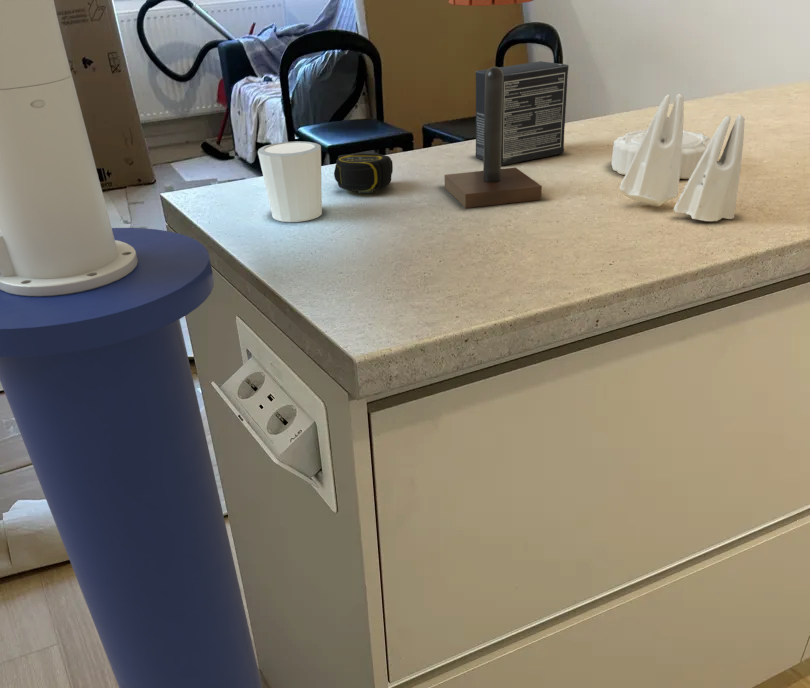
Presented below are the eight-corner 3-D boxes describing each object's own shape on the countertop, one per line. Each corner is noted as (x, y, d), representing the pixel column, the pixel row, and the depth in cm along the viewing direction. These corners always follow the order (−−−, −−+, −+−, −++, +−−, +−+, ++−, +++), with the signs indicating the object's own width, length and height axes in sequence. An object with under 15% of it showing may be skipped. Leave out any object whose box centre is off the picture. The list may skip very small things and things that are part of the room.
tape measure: (394, 181, 100) (392, 149, 98) (389, 197, 95) (387, 163, 92) (340, 183, 101) (337, 150, 98) (332, 198, 95) (329, 164, 93)
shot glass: (307, 202, 95) (300, 137, 90) (339, 214, 90) (333, 146, 86) (256, 214, 91) (246, 147, 87) (285, 227, 87) (277, 158, 83)
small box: (536, 145, 112) (541, 59, 106) (565, 154, 108) (572, 64, 101) (472, 157, 108) (473, 68, 102) (499, 166, 104) (502, 74, 97)
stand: (465, 208, 90) (466, 76, 82) (444, 187, 97) (443, 64, 89) (541, 199, 91) (549, 69, 83) (515, 180, 98) (520, 58, 90)
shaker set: (614, 207, 88) (627, 93, 81) (634, 198, 90) (648, 87, 84) (718, 227, 81) (741, 105, 75) (736, 217, 84) (761, 98, 77)
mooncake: (632, 152, 107) (636, 123, 104) (723, 162, 101) (729, 130, 99) (595, 174, 99) (598, 142, 97) (691, 185, 93) (697, 152, 91)
